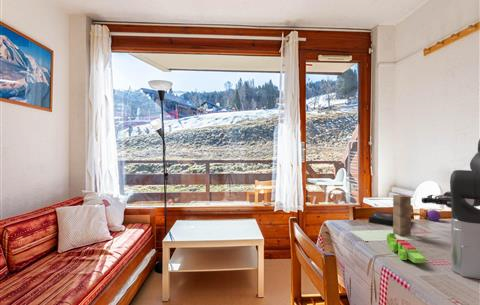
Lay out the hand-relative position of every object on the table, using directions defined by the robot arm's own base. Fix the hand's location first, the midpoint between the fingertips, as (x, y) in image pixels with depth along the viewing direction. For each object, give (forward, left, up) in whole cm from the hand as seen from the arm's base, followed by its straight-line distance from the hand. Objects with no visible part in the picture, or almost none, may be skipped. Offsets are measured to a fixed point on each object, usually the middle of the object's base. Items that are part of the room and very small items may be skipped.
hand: (422, 200), depth 122 cm
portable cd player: (+16, +13, -17) cm, 27 cm away
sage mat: (-10, +16, -16) cm, 25 cm away
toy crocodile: (-32, +10, -16) cm, 37 cm away
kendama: (+34, -3, -16) cm, 38 cm away
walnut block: (-5, +9, -16) cm, 19 cm away
